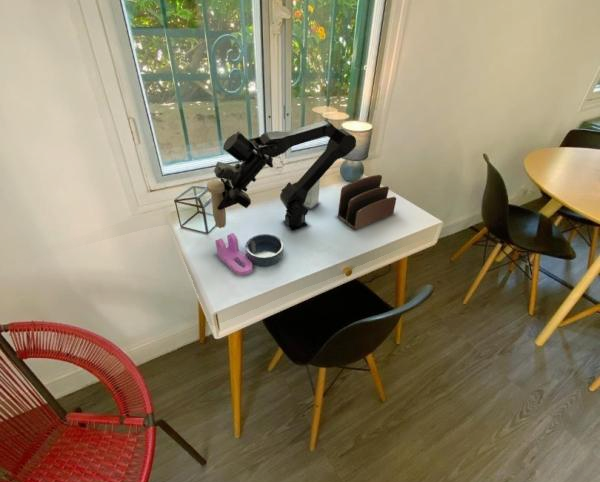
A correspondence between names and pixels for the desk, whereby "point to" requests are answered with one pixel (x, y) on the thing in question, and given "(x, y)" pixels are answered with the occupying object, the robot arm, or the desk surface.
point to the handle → (217, 202)
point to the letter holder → (365, 202)
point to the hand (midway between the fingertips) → (217, 206)
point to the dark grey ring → (264, 250)
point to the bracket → (233, 255)
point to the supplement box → (312, 196)
